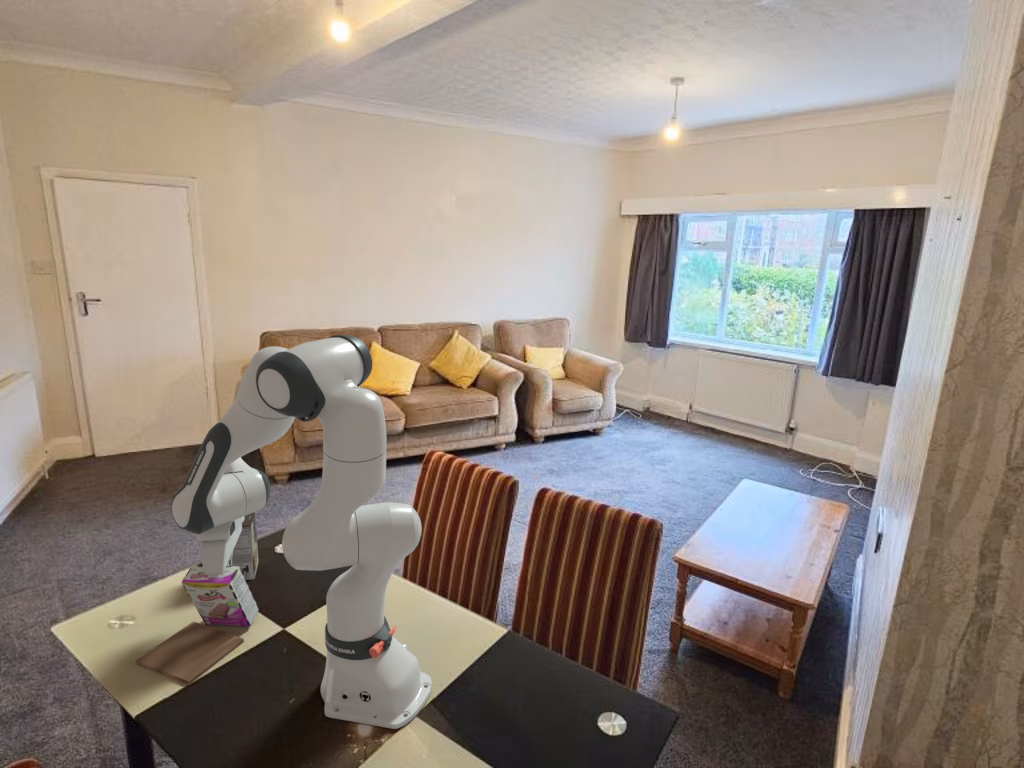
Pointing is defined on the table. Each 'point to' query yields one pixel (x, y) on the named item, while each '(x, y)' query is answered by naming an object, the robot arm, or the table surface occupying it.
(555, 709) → the table surface
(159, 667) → the board
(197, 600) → the candy bar box
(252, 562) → the coffee box
